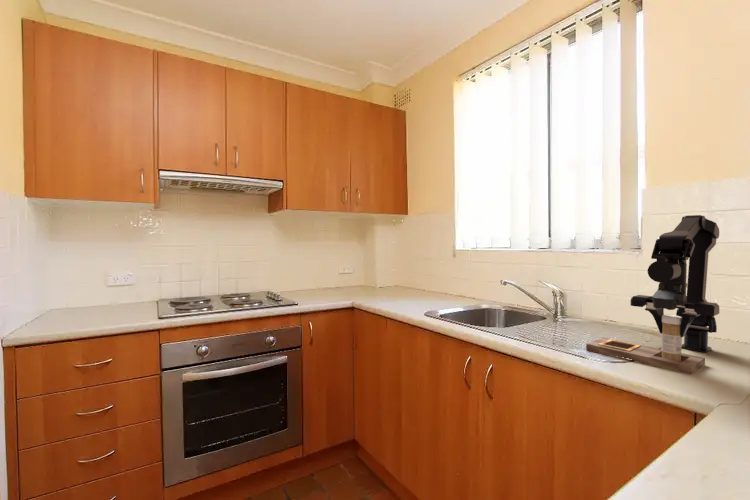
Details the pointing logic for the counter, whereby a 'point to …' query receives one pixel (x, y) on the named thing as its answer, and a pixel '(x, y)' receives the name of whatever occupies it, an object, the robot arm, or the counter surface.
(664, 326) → the sprinkles bottle
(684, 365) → the rail
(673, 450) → the counter surface
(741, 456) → the counter surface
